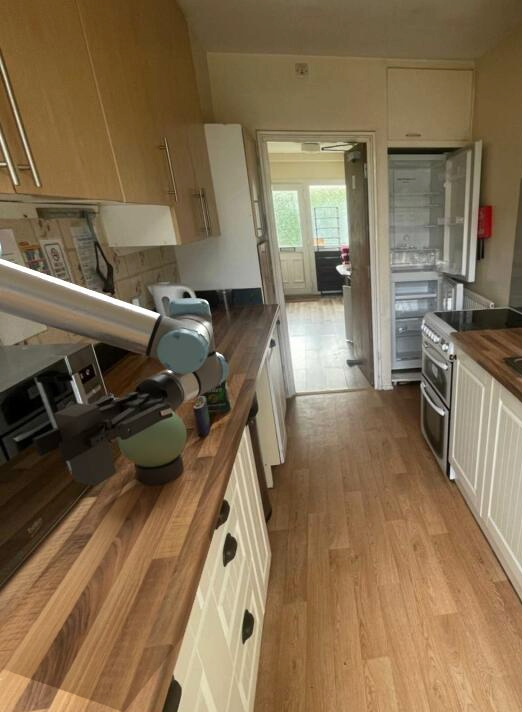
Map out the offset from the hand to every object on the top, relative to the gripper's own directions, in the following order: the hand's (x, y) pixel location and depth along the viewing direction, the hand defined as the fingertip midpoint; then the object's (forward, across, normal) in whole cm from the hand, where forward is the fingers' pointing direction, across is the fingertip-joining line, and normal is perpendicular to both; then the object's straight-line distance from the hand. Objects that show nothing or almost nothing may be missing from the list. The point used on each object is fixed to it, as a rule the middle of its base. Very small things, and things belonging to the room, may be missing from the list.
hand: (50, 450), depth 61 cm
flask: (-53, +18, -26) cm, 62 cm away
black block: (-5, 0, -8) cm, 10 cm away
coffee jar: (-64, +22, -26) cm, 73 cm away
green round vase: (-31, +14, -26) cm, 43 cm away
